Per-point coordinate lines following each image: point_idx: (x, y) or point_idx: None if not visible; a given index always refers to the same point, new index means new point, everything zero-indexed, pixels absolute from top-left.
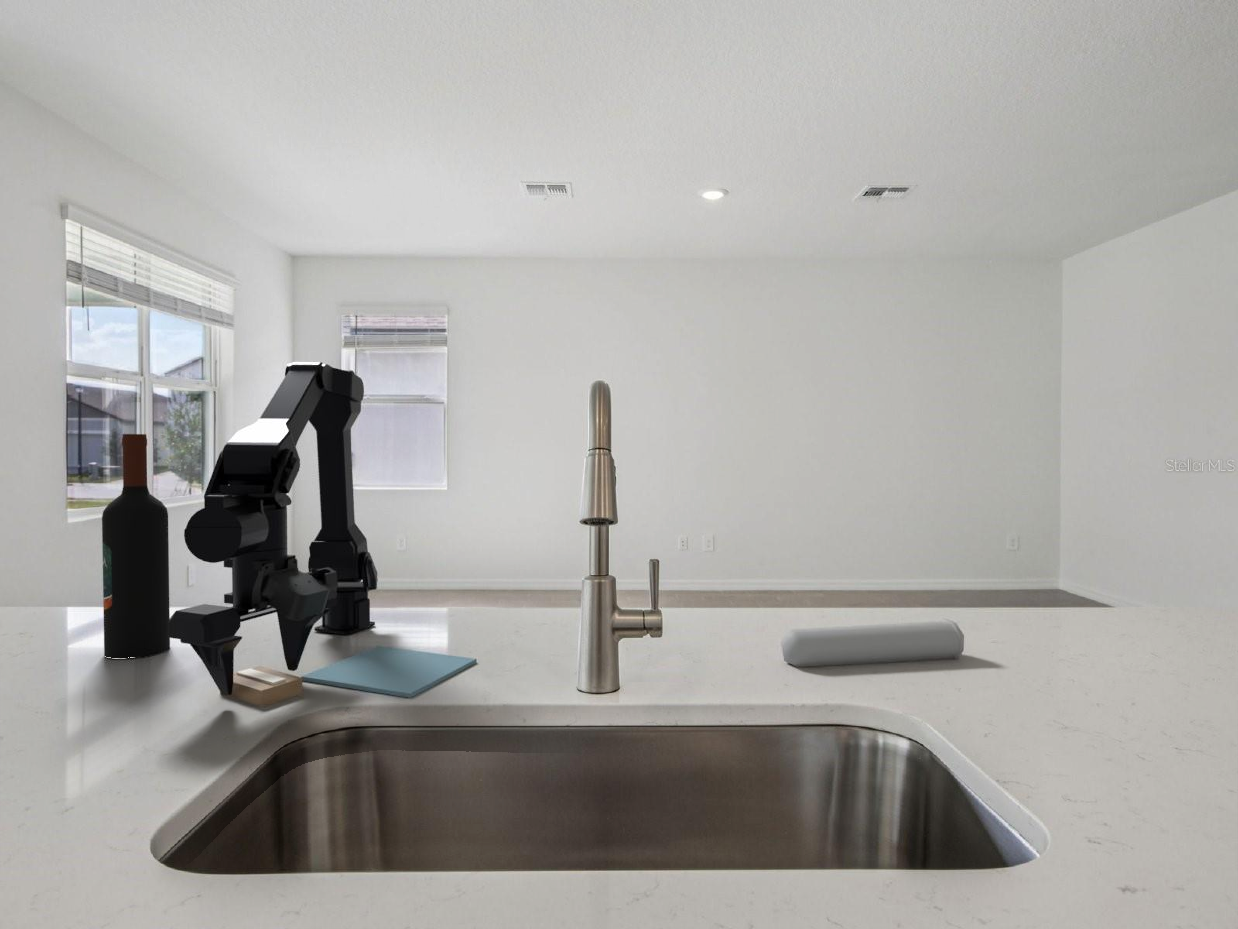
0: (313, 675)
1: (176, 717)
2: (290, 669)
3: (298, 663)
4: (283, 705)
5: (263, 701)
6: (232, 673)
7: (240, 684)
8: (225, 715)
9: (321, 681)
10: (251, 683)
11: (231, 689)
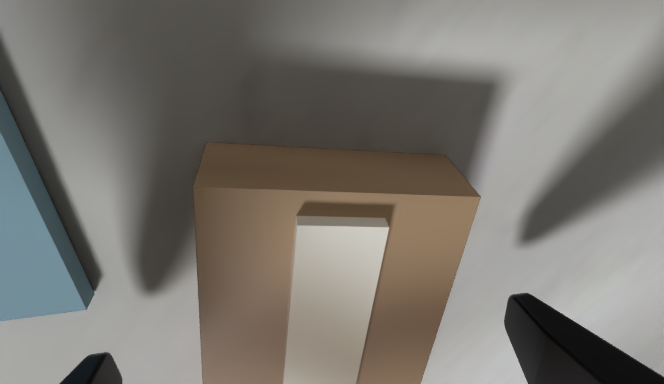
0: (26, 275)
1: (614, 314)
2: (116, 373)
3: (67, 380)
4: (390, 74)
5: (445, 164)
6: (600, 373)
7: (431, 347)
8: (571, 199)
9: (31, 181)
10: (404, 323)
11: (533, 309)
